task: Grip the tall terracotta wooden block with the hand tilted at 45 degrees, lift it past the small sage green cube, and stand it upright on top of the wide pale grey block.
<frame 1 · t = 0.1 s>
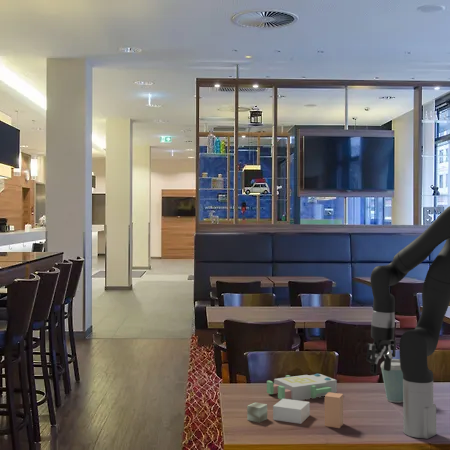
hand: (380, 372, 194), 17 cm above the table, tool pointing down, fingers open, 8 cm apart
grey base block: (291, 418, 201), on the table
disposable coffee cup: (395, 401, 221), on the table
sage cube: (257, 419, 199), on the table
terracotta block: (334, 424, 193), on the table
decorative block: (301, 395, 231), on the table
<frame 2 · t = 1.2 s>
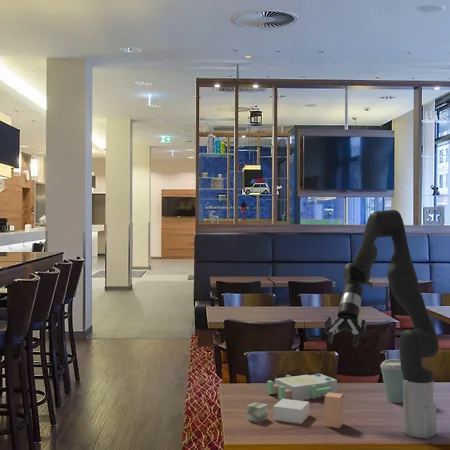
hand: (342, 344, 204), 25 cm above the table, tool tilted 45°, fingers open, 8 cm apart
nothing on the table moved.
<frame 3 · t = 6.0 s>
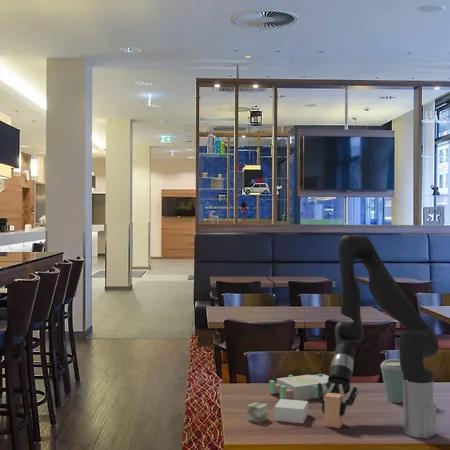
hand: (332, 413, 192), 4 cm above the table, tool tilted 45°, fingers closed on terracotta block, 5 cm apart
terracotta block: (334, 424, 193), on the table, touching gripper
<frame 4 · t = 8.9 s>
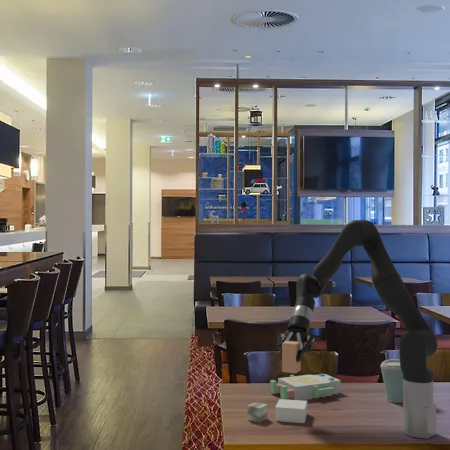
hand: (289, 360, 200), 20 cm above the table, tool tilted 45°, fingers closed on terracotta block, 5 cm apart
terracotta block: (291, 370, 202), point 16 cm above the table, touching gripper
when the fingers open (11 cm above the table, at t = 11.6 s): terracotta block drops 2 cm, resting on grey base block.
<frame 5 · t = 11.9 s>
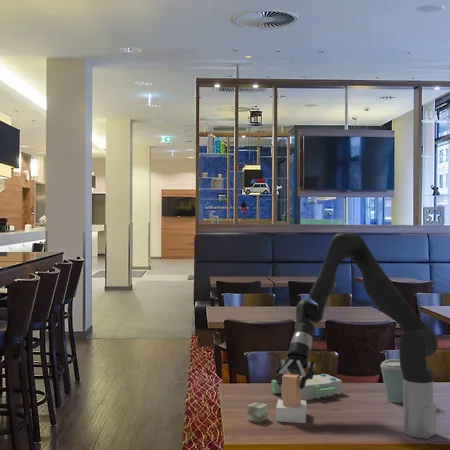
hand: (290, 386, 200), 11 cm above the table, tool tilted 45°, fingers open, 7 cm apart
grey base block: (291, 418, 201), on the table, touching terracotta block
terracotta block: (291, 404, 201), point 5 cm above the table, touching grey base block
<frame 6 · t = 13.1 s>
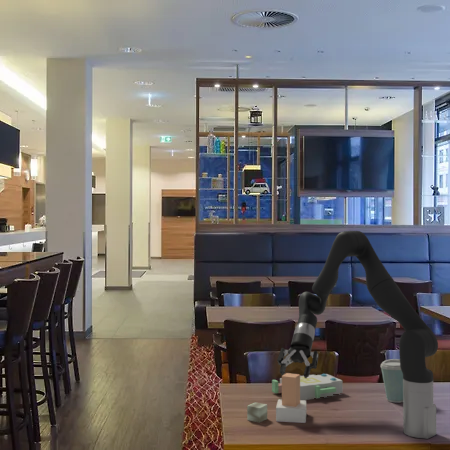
hand: (293, 375, 204), 14 cm above the table, tool tilted 45°, fingers open, 8 cm apart
grey base block: (291, 418, 201), on the table
terracotta block: (291, 404, 201), point 5 cm above the table
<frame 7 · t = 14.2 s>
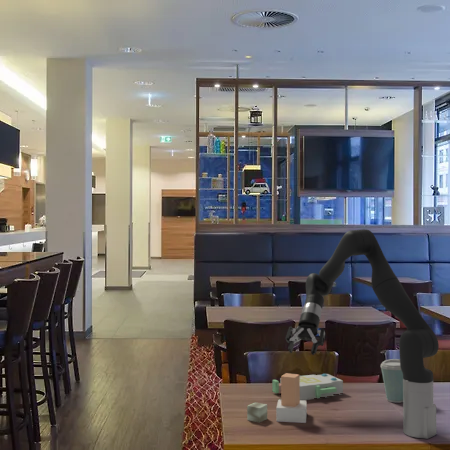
hand: (301, 352, 212), 20 cm above the table, tool tilted 45°, fingers open, 8 cm apart
grey base block: (291, 418, 201), on the table, touching terracotta block
terracotta block: (290, 404, 201), point 5 cm above the table, touching grey base block
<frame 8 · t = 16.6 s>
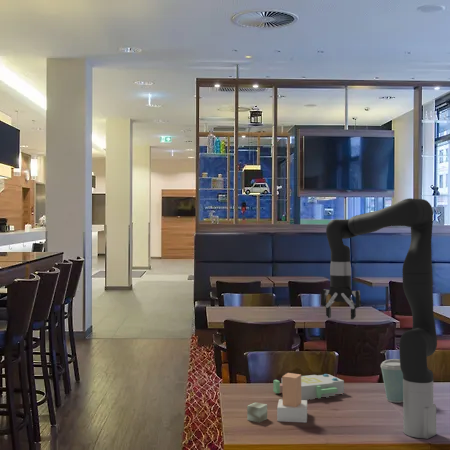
hand: (340, 318, 211), 33 cm above the table, tool pointing down, fingers open, 8 cm apart
grey base block: (292, 418, 202), on the table
terracotta block: (292, 403, 201), point 5 cm above the table
at the end: terracotta block 0.8 cm off-centre on the grey base block, point 5.1 cm above the grey base block's base; terracotta block tilted 2°; the gripper is holding nothing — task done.
